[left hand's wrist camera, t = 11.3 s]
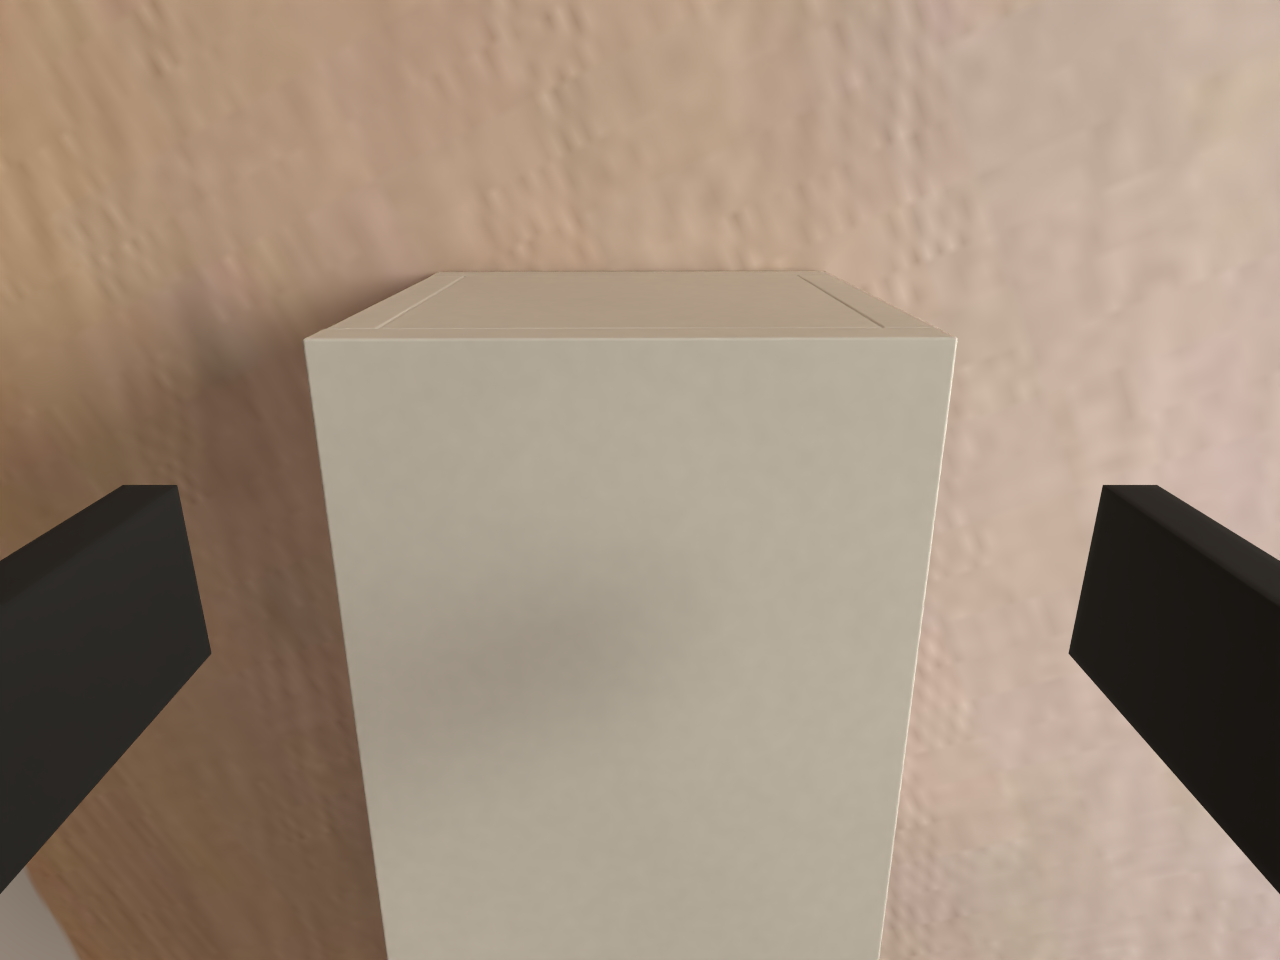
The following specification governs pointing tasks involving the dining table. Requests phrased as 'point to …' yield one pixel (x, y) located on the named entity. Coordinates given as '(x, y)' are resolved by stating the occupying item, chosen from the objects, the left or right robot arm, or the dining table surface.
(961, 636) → the dining table surface
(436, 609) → the cabinet
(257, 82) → the dining table surface
